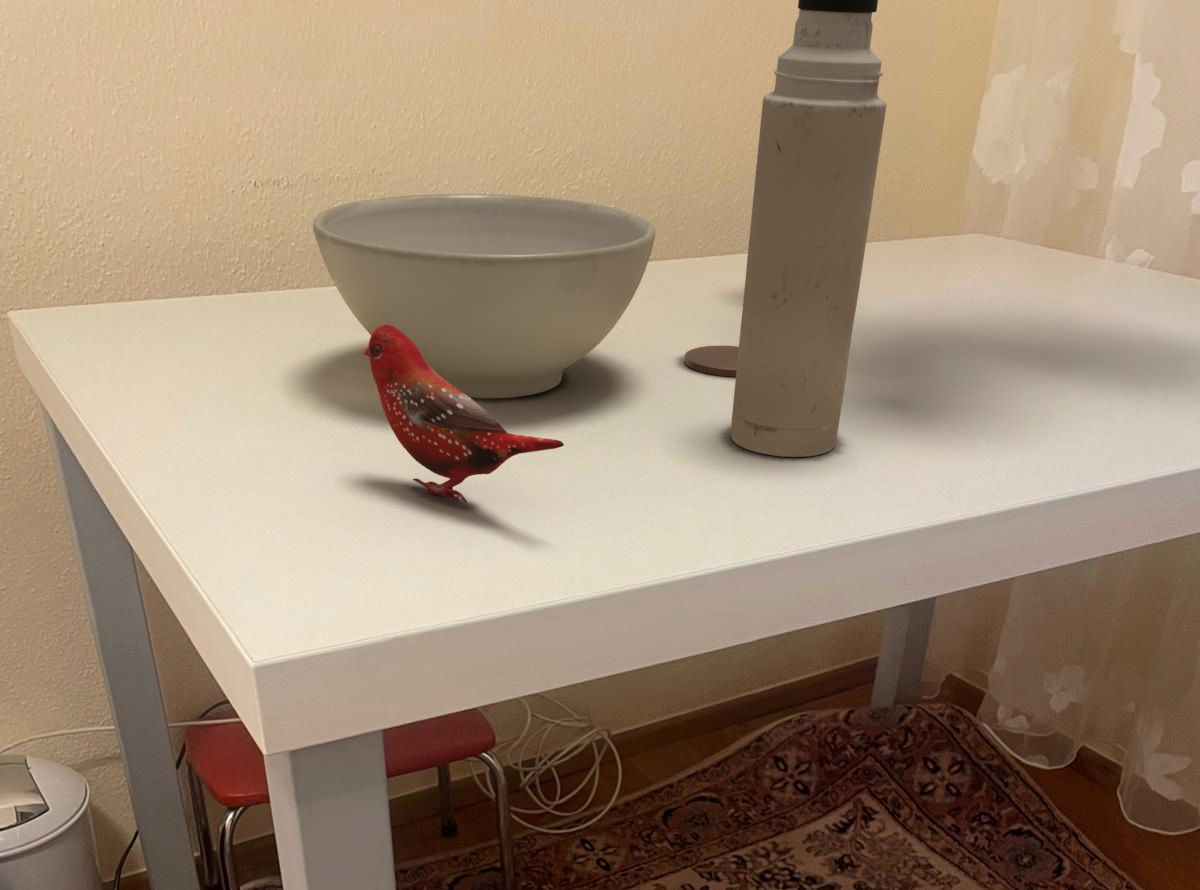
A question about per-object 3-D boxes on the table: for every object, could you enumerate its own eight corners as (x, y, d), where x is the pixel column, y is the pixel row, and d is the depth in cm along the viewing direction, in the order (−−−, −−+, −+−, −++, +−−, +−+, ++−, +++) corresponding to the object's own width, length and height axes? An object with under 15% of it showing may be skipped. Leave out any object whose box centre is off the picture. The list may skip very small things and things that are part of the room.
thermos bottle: (708, 434, 90) (747, -11, 74) (780, 416, 95) (832, -9, 79) (785, 465, 86) (844, -6, 69) (857, 444, 90) (929, -3, 74)
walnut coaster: (788, 362, 108) (789, 355, 108) (748, 382, 102) (749, 375, 102) (710, 347, 111) (711, 340, 111) (668, 365, 106) (668, 358, 105)
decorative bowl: (705, 373, 104) (717, 221, 97) (518, 452, 86) (517, 272, 79) (467, 321, 116) (463, 183, 109) (258, 381, 98) (237, 220, 91)
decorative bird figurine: (389, 465, 83) (378, 314, 77) (578, 537, 74) (582, 371, 68) (357, 475, 81) (343, 321, 75) (546, 550, 72) (547, 381, 66)
